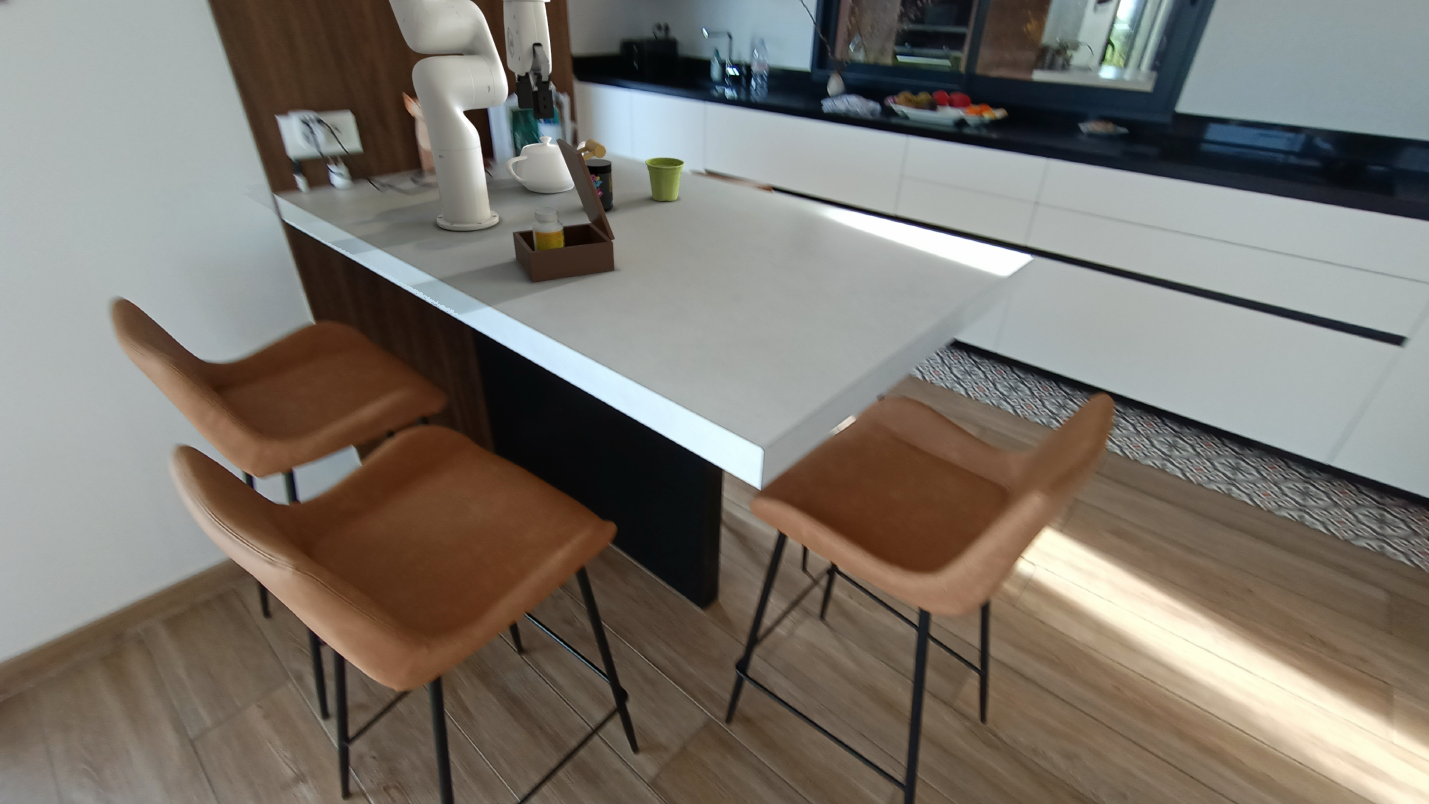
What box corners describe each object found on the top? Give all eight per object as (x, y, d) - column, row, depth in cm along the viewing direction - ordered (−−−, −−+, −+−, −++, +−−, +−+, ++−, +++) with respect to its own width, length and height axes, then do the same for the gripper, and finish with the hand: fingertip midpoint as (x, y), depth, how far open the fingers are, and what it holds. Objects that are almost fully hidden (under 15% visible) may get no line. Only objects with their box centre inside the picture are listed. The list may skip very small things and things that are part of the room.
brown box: (532, 282, 115) (529, 253, 112) (516, 259, 124) (512, 231, 121) (614, 270, 121) (613, 242, 118) (593, 249, 130) (591, 222, 127)
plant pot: (691, 197, 163) (692, 161, 159) (669, 206, 157) (669, 168, 152) (661, 191, 167) (660, 155, 163) (638, 199, 161) (637, 162, 156)
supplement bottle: (532, 260, 122) (525, 208, 117) (559, 255, 124) (554, 204, 119) (542, 269, 118) (537, 216, 113) (570, 264, 121) (566, 212, 115)
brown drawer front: (577, 154, 108) (608, 140, 109) (556, 139, 117) (585, 127, 118) (611, 240, 118) (639, 227, 119) (589, 221, 127) (615, 208, 128)
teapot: (530, 203, 154) (523, 148, 148) (492, 190, 163) (484, 137, 156) (610, 185, 170) (608, 135, 164) (572, 173, 179) (568, 125, 172)
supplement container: (582, 205, 154) (578, 159, 149) (610, 204, 156) (608, 158, 151) (587, 214, 149) (584, 166, 143) (616, 212, 151) (614, 165, 145)
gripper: (485, -13, 103) (500, 105, 112) (511, -10, 90) (526, 124, 99) (533, -12, 106) (544, 104, 115) (565, -8, 93) (574, 121, 103)
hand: (536, 113), depth 107 cm, fingers open, 9 cm apart
